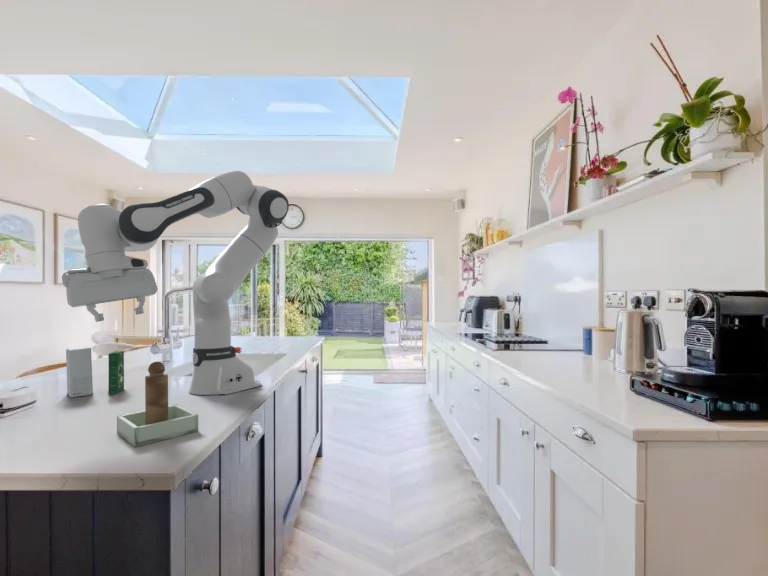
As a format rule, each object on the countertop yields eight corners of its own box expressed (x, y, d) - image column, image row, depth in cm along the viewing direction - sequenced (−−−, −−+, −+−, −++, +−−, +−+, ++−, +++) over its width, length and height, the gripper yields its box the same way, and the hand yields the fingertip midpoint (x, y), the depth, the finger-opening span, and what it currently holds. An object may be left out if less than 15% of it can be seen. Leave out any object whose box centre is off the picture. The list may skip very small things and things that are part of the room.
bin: (176, 419, 104) (176, 404, 104) (198, 431, 95) (198, 414, 95) (116, 432, 95) (116, 416, 95) (135, 446, 86) (135, 428, 86)
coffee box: (114, 389, 138) (114, 350, 138) (124, 388, 139) (124, 349, 139) (107, 395, 131) (107, 353, 131) (118, 394, 132) (118, 352, 132)
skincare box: (93, 394, 131) (93, 347, 131) (69, 398, 127) (69, 349, 127) (88, 390, 137) (88, 345, 137) (65, 393, 133) (65, 347, 133)
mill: (164, 423, 99) (163, 359, 99) (171, 427, 95) (170, 361, 96) (142, 428, 95) (142, 361, 95) (149, 432, 92) (149, 364, 92)
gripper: (63, 267, 99) (77, 324, 98) (153, 259, 114) (165, 308, 114) (56, 273, 103) (69, 327, 102) (144, 265, 118) (155, 312, 118)
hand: (120, 317), depth 108 cm, fingers open, 8 cm apart
